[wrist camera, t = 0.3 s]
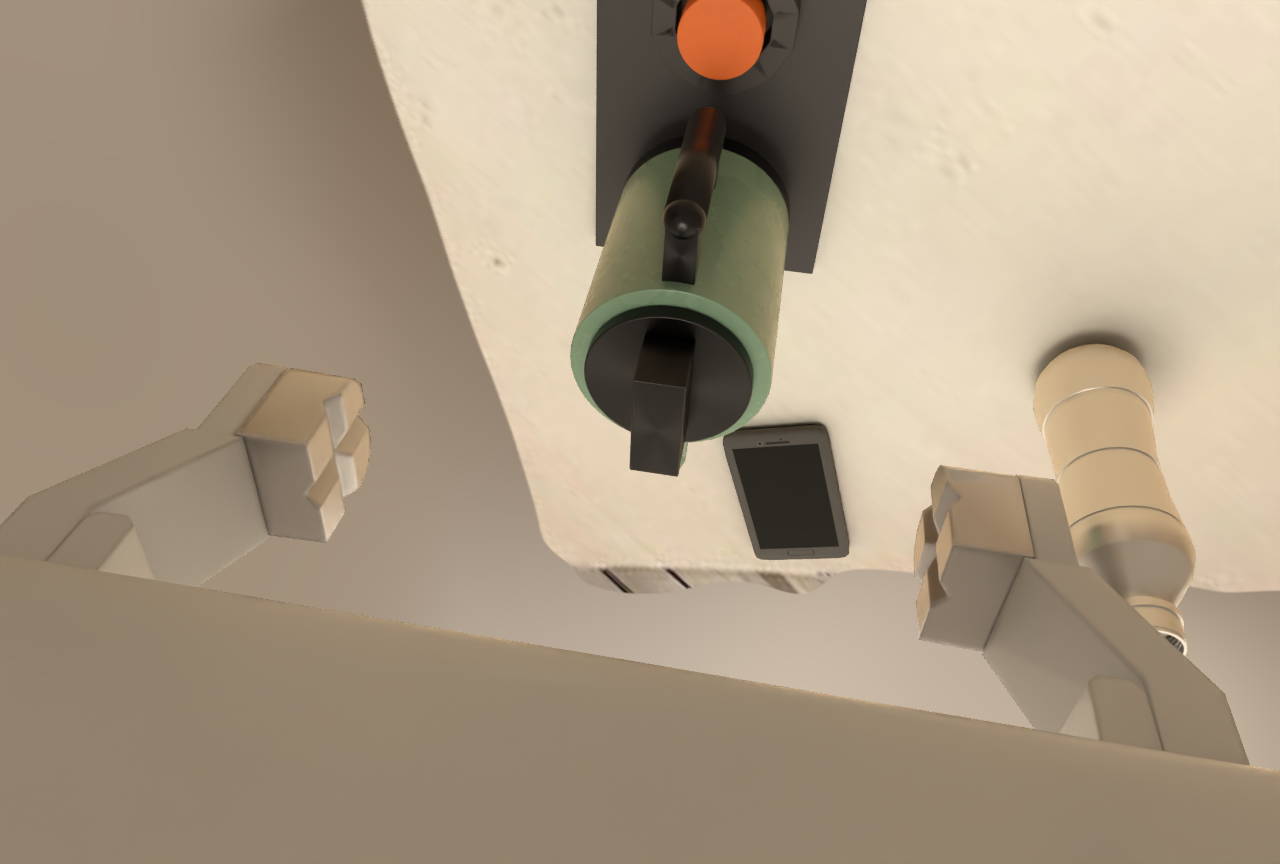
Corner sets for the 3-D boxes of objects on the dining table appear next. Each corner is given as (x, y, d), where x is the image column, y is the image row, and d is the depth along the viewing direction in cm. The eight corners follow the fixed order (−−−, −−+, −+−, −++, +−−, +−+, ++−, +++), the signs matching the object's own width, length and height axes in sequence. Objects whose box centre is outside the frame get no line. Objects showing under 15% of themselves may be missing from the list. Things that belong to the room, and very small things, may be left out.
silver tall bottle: (1168, 347, 58) (1257, 634, 45) (1102, 422, 63) (1164, 702, 49) (1066, 316, 58) (1124, 595, 44) (1008, 394, 63) (1044, 667, 49)
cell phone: (757, 554, 78) (756, 561, 78) (720, 430, 69) (719, 437, 69) (851, 551, 76) (851, 558, 76) (826, 422, 67) (825, 430, 66)
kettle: (625, 56, 48) (544, 259, 37) (814, 77, 48) (792, 291, 36) (618, 321, 60) (555, 538, 49) (768, 342, 60) (741, 567, 48)
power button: (685, -28, 46) (679, -10, 44) (772, -19, 45) (768, -1, 44) (680, 56, 49) (674, 75, 47) (761, 65, 48) (757, 85, 47)
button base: (599, -87, 47) (588, -67, 45) (877, -59, 45) (877, -38, 44) (597, 240, 60) (588, 265, 58) (812, 268, 59) (810, 294, 57)
